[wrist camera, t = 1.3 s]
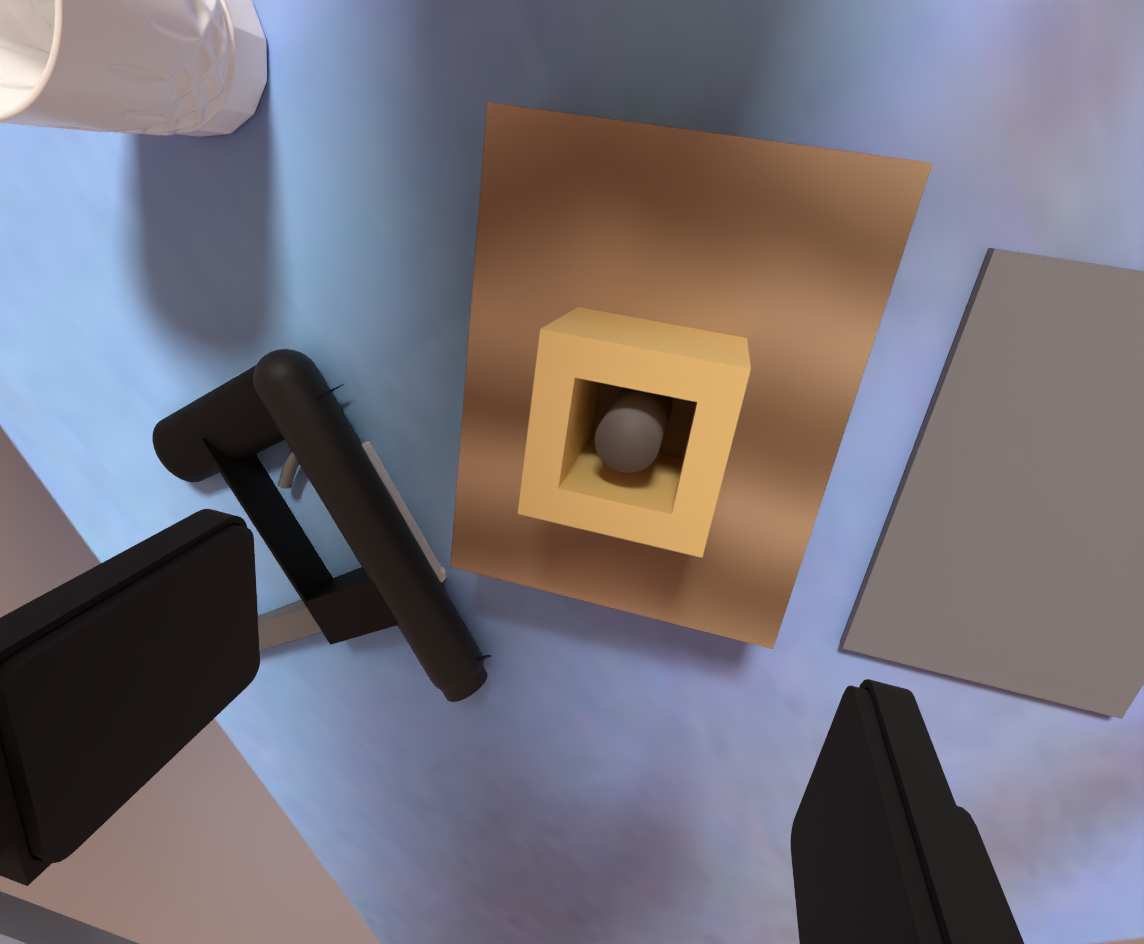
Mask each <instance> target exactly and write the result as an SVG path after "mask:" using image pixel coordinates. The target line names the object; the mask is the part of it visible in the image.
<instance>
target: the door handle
mask: <svg viewBox="0 0 1144 944" xmlns="http://www.w3.org/2000/svg"><path fill="white" fill-rule="evenodd" d="M343 385H344V384H343ZM341 386H342V385H341ZM339 387H340V386H339ZM339 387H336V388H334V389H332V390H330V389H329V388H328V386H327V384H326V383H325V381H324V379H323V377H322V376H321V374H320V372H319V370H318V369H317V367H316V365H315V364H314V363H313V361H312V360H311V359H310V358H308V357H307V356H306V355H304V354H302V353H300V352H298V351H294V350H289V349H281V350H276V351H273V352H270V353H268V354H267V355H265V356H264V357H263V358H262V359H261V360H260V361H259V362H258V364H257V365H256V366H254V367H252V368H251V369H249V370H247V371H245V372H244V373H242V374H240V375H239V376H237V377H235V378H233V379H232V380H230V381H228V382H226V383H225V384H223V385H221V386H220V387H218V388H216V389H214V390H213V391H211V392H209V393H207V394H206V395H204V396H202V397H201V398H199V399H197V400H195V401H194V402H192V403H190V404H188V405H187V406H185V407H183V408H182V409H180V410H178V411H176V412H175V413H173V414H171V415H169V416H168V417H166V418H164V419H163V420H161V421H159V422H158V423H157V425H156V426H155V428H154V431H153V445H154V449H155V452H156V454H157V456H158V458H159V460H160V461H161V463H162V464H163V465H164V466H165V467H166V469H167V470H169V471H170V472H171V473H172V474H173V475H175V476H176V477H178V478H180V479H182V480H185V481H189V482H199V481H202V480H204V479H206V478H208V477H210V476H212V475H214V474H216V473H218V472H220V473H221V474H222V476H223V478H224V479H225V481H226V482H227V484H228V485H229V487H230V488H231V490H232V492H233V493H234V495H235V496H236V498H237V499H238V501H239V502H240V504H241V506H242V507H243V509H244V510H245V512H246V513H247V515H248V517H249V518H250V520H251V521H252V523H253V524H254V526H255V527H256V529H257V531H258V532H259V534H260V535H261V537H262V538H263V540H264V541H265V543H266V545H267V546H268V548H269V549H270V551H271V552H272V554H273V555H274V557H275V559H276V560H277V562H278V563H279V565H280V566H281V568H282V570H283V571H284V573H285V574H286V576H287V577H288V579H289V580H290V582H291V584H292V585H293V587H294V588H295V590H296V591H297V593H298V594H299V596H300V598H301V599H302V600H300V601H297V602H294V603H292V604H289V605H286V606H284V607H281V608H278V609H275V610H273V611H270V612H267V613H265V614H262V615H259V616H258V632H259V651H261V650H265V649H268V648H271V647H274V646H278V645H281V644H284V643H287V642H291V641H294V640H297V639H300V638H304V637H307V636H310V635H313V634H317V633H320V632H323V634H324V635H325V637H326V638H327V640H328V642H329V643H330V645H331V644H334V643H338V642H341V641H344V640H348V639H351V638H355V637H358V636H361V635H365V634H368V633H372V632H375V631H378V630H382V629H385V628H389V627H392V626H395V625H398V627H399V628H400V630H401V632H402V633H403V635H404V637H405V638H406V640H407V642H408V643H409V645H410V647H411V648H412V650H413V652H414V653H415V655H416V656H417V658H418V660H419V661H420V663H421V665H422V666H423V668H424V670H425V671H426V673H427V675H428V676H429V678H430V680H431V681H432V683H433V684H434V685H435V686H436V687H437V688H438V689H440V690H442V692H443V694H444V695H445V697H446V699H447V700H448V701H450V702H456V701H460V700H462V699H465V698H467V697H469V696H470V695H472V694H473V693H475V692H476V691H477V690H478V689H479V688H480V687H481V686H482V685H483V684H484V683H485V681H486V679H487V672H486V670H485V669H484V667H483V658H484V659H486V658H487V657H489V658H490V657H491V655H486V656H482V655H481V652H480V650H479V648H478V646H477V645H476V643H475V641H474V639H473V638H472V636H471V634H470V633H469V631H468V629H467V627H466V626H465V624H464V622H463V620H462V619H461V617H460V615H459V613H458V612H457V610H456V608H455V606H454V605H453V603H452V601H451V600H450V598H449V596H448V594H447V593H446V591H445V589H444V587H443V586H442V584H441V583H442V582H443V581H444V580H445V579H446V577H447V576H446V570H445V568H444V567H442V566H441V565H440V564H439V562H438V560H437V558H436V557H435V555H434V553H433V551H432V550H431V548H430V546H429V544H428V543H427V541H426V539H425V537H424V536H423V534H422V532H421V530H420V529H419V527H418V525H417V523H416V522H415V520H414V518H413V516H412V515H411V513H410V511H409V509H408V508H407V506H406V504H405V502H404V501H403V499H402V497H401V495H400V494H399V492H398V490H397V488H396V487H395V485H394V483H393V481H392V480H391V478H390V476H389V475H388V473H387V471H386V469H385V468H384V466H383V464H382V462H381V461H380V459H379V457H378V455H377V454H376V452H375V450H374V448H373V447H372V445H371V443H370V441H369V440H368V441H366V442H364V443H360V442H359V440H358V438H357V436H356V435H355V433H354V431H353V429H352V428H351V426H350V424H349V422H348V421H347V419H346V417H345V416H344V414H343V412H342V410H341V409H340V407H339V405H338V403H337V402H336V400H335V398H334V396H333V395H332V393H331V392H332V391H334V390H335V389H337V388H339ZM283 440H286V442H287V444H288V445H289V447H290V449H291V450H292V452H291V454H290V455H289V456H288V458H287V460H286V462H285V464H284V466H283V469H282V471H281V475H280V478H279V483H278V485H279V486H280V487H282V488H290V487H292V483H293V479H294V475H295V472H296V470H297V467H298V465H299V463H300V465H301V467H302V468H303V470H304V472H305V473H306V475H307V477H308V478H309V480H310V482H311V483H312V485H313V487H314V488H315V490H316V492H317V493H318V495H319V496H320V498H321V500H322V501H323V503H324V505H325V506H326V508H327V510H328V511H329V513H330V515H331V516H332V518H333V520H334V521H335V523H336V525H337V526H338V528H339V529H340V531H341V533H342V534H343V536H344V538H345V539H346V541H347V543H348V544H349V546H350V548H351V549H352V551H353V553H354V554H355V556H356V558H357V559H358V561H359V562H360V564H361V566H362V567H361V568H359V569H356V570H353V571H351V572H348V573H346V574H343V575H340V576H338V577H335V578H332V576H331V575H330V573H329V572H328V570H327V568H326V567H325V565H324V564H323V562H322V560H321V559H320V557H319V556H318V554H317V552H316V551H315V549H314V548H313V546H312V544H311V543H310V541H309V539H308V538H307V536H306V535H305V533H304V531H303V530H302V528H301V527H300V525H299V523H298V522H297V520H296V519H295V517H294V515H293V514H292V512H291V511H290V509H289V507H288V506H287V504H286V502H285V501H284V499H283V498H282V496H281V494H280V493H279V491H278V490H277V488H276V486H275V485H274V483H273V482H272V480H271V478H270V477H269V475H268V474H267V472H266V470H265V469H264V467H263V466H262V464H261V462H260V461H259V459H258V457H257V456H256V453H258V452H260V451H262V450H264V449H266V448H268V447H270V446H272V445H275V444H277V443H279V442H281V441H283Z"/></svg>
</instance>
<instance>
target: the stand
mask: <svg viewBox="0 0 1144 944" xmlns="http://www.w3.org/2000/svg"><path fill="white" fill-rule="evenodd" d="M931 167H932V163H930V162H923V161H915V160H908V159H901V158H893V157H886V156H879V155H871V154H864V153H857V152H849V151H842V150H835V149H827V148H820V147H813V146H805V145H798V144H791V143H783V142H776V141H769V140H761V139H754V138H747V137H739V136H732V135H725V134H717V133H710V132H703V131H695V130H688V129H680V128H673V127H666V126H658V125H651V124H644V123H636V122H629V121H622V120H614V119H607V118H600V117H592V116H585V115H578V114H570V113H563V112H556V111H548V110H541V109H534V108H526V107H519V106H512V105H504V104H497V103H490V102H487V113H486V126H485V138H484V151H483V163H482V176H481V188H480V201H479V214H478V226H477V239H476V251H475V264H474V276H473V289H472V301H471V314H470V327H469V339H468V352H467V364H466V377H465V389H464V402H463V414H462V427H461V439H460V452H459V465H458V477H457V490H456V502H455V515H454V527H453V540H452V552H451V565H450V567H454V568H458V569H462V570H465V571H469V572H473V573H477V574H481V575H485V576H489V577H493V578H497V579H501V580H505V581H509V582H512V583H516V584H520V585H524V586H528V587H532V588H536V589H540V590H544V591H548V592H552V593H556V594H559V595H563V596H567V597H571V598H575V599H579V600H583V601H587V602H591V603H595V604H599V605H602V606H606V607H610V608H614V609H618V610H622V611H626V612H630V613H634V614H638V615H642V616H646V617H649V618H653V619H657V620H661V621H665V622H669V623H673V624H677V625H681V626H685V627H689V628H693V629H696V630H700V631H704V632H708V633H712V634H716V635H720V636H724V637H728V638H732V639H736V640H739V641H743V642H747V643H751V644H755V645H759V646H763V647H767V648H771V649H773V647H774V644H775V641H776V638H777V635H778V632H779V629H780V626H781V623H782V620H783V617H784V614H785V611H786V608H787V605H788V602H789V599H790V596H791V593H792V590H793V587H794V583H795V580H796V577H797V574H798V571H799V568H800V565H801V562H802V559H803V556H804V553H805V550H806V547H807V544H808V541H809V538H810V535H811V532H812V529H813V526H814V523H815V520H816V517H817V513H818V510H819V507H820V504H821V501H822V498H823V495H824V492H825V489H826V486H827V483H828V480H829V477H830V474H831V471H832V468H833V465H834V462H835V459H836V456H837V453H838V450H839V447H840V443H841V440H842V437H843V434H844V431H845V428H846V425H847V422H848V419H849V416H850V413H851V410H852V407H853V404H854V401H855V398H856V395H857V392H858V389H859V386H860V383H861V380H862V377H863V373H864V370H865V367H866V364H867V361H868V358H869V355H870V352H871V349H872V346H873V343H874V340H875V337H876V334H877V331H878V328H879V325H880V322H881V319H882V316H883V313H884V310H885V307H886V303H887V300H888V297H889V294H890V291H891V288H892V285H893V282H894V279H895V276H896V273H897V270H898V267H899V264H900V261H901V258H902V255H903V252H904V249H905V246H906V243H907V240H908V237H909V233H910V230H911V227H912V224H913V221H914V218H915V215H916V212H917V209H918V206H919V203H920V200H921V197H922V194H923V191H924V188H925V185H926V182H927V179H928V176H929V173H930V170H931ZM577 307H580V308H586V309H591V310H597V311H602V312H607V313H613V314H618V315H624V316H629V317H635V318H640V319H646V320H651V321H656V322H662V323H667V324H673V325H678V326H684V327H689V328H695V329H700V330H705V331H711V332H716V333H722V334H727V335H733V336H738V337H744V338H747V342H748V350H749V358H750V366H751V371H750V375H749V378H748V382H747V386H746V390H745V394H744V398H743V402H742V406H741V410H740V413H739V417H738V421H737V425H736V429H735V433H734V437H733V441H732V445H731V448H730V452H729V456H728V460H727V464H726V468H725V472H724V476H723V479H722V483H721V487H720V491H719V495H718V499H717V503H716V507H715V511H714V514H713V518H712V522H711V526H710V530H709V534H708V538H707V542H706V546H705V549H704V553H703V557H702V558H701V557H697V556H693V555H689V554H685V553H680V552H676V551H672V550H668V549H664V548H659V547H655V546H651V545H647V544H643V543H638V542H634V541H630V540H626V539H622V538H617V537H613V536H609V535H605V534H601V533H596V532H592V531H588V530H584V529H579V528H575V527H571V526H567V525H563V524H558V523H554V522H550V521H546V520H542V519H537V518H533V517H529V516H525V515H521V514H518V507H519V498H520V490H521V482H522V474H523V466H524V458H525V450H526V441H527V433H528V425H529V417H530V409H531V401H532V393H533V385H534V376H535V368H536V360H537V352H538V344H539V336H540V329H541V328H543V327H545V326H546V325H548V324H550V323H551V322H553V321H555V320H557V319H558V318H560V317H562V316H563V315H565V314H567V313H569V312H570V311H572V310H574V309H576V308H577ZM695 405H696V402H694V401H689V400H684V399H679V398H674V397H669V396H664V395H659V394H654V393H649V392H644V391H640V390H635V389H630V388H625V387H620V386H615V385H610V384H605V383H600V382H599V388H598V394H597V400H596V406H595V412H594V418H593V424H592V430H591V436H590V439H592V440H595V448H596V451H597V453H598V455H599V457H600V458H601V460H602V461H603V462H604V463H605V464H606V465H607V466H609V467H610V468H612V469H614V470H616V471H619V472H624V473H634V472H638V471H641V470H643V469H645V468H647V467H648V466H649V465H650V464H652V462H653V461H654V460H655V458H656V457H657V454H662V455H666V456H671V457H676V458H680V459H683V457H684V453H685V449H686V444H687V440H688V435H689V431H690V427H691V422H692V418H693V414H694V409H695Z"/></svg>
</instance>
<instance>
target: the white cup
mask: <svg viewBox="0 0 1144 944" xmlns="http://www.w3.org/2000/svg"><path fill="white" fill-rule="evenodd" d="M266 82H267V43H266V38H265V35H264V32H263V29H262V27H261V24H260V21H259V18H258V16H257V13H256V10H255V7H254V4H253V2H252V0H0V123H2V124H14V125H26V126H38V127H49V128H60V129H72V130H83V131H94V132H116V133H132V134H148V135H173V134H179V135H188V136H199V137H203V136H213V135H223V134H231V133H232V132H233V131H235V130H236V129H237V128H238V127H239V126H241V125H242V124H243V123H244V122H245V121H247V120H248V119H249V118H250V117H251V116H253V115H254V113H255V111H256V108H257V106H258V103H259V101H260V98H261V95H262V93H263V90H264V88H265V85H266Z"/></svg>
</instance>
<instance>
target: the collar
mask: <svg viewBox="0 0 1144 944" xmlns="http://www.w3.org/2000/svg"><path fill="white" fill-rule="evenodd" d="M750 371H751V366H750V358H749V350H748V342H747V338H744V337H738V336H733V335H727V334H722V333H716V332H711V331H705V330H700V329H695V328H689V327H684V326H678V325H673V324H667V323H662V322H656V321H651V320H646V319H640V318H635V317H629V316H624V315H618V314H613V313H607V312H602V311H597V310H591V309H586V308H580V307H577V308H576V309H574V310H572V311H570V312H569V313H567V314H565V315H563V316H562V317H560V318H558V319H557V320H555V321H553V322H551V323H550V324H548V325H546V326H545V327H543V328H541V329H540V336H539V344H538V352H537V360H536V368H535V376H534V385H533V393H532V401H531V409H530V417H529V425H528V433H527V441H526V450H525V458H524V466H523V474H522V482H521V490H520V498H519V507H518V514H521V515H525V516H529V517H533V518H537V519H542V520H546V521H550V522H554V523H558V524H563V525H567V526H571V527H575V528H579V529H584V530H588V531H592V532H596V533H601V534H605V535H609V536H613V537H617V538H622V539H626V540H630V541H634V542H638V543H643V544H647V545H651V546H655V547H659V548H664V549H668V550H672V551H676V552H680V553H685V554H689V555H693V556H697V557H701V558H702V557H703V553H704V549H705V546H706V542H707V538H708V534H709V530H710V526H711V522H712V518H713V514H714V511H715V507H716V503H717V499H718V495H719V491H720V487H721V483H722V479H723V476H724V472H725V468H726V464H727V460H728V456H729V452H730V448H731V445H732V441H733V437H734V433H735V429H736V425H737V421H738V417H739V413H740V410H741V406H742V402H743V398H744V394H745V390H746V386H747V382H748V378H749V375H750ZM599 382H600V383H605V384H610V385H615V386H620V387H625V388H630V389H635V390H640V391H644V392H649V393H654V394H659V395H664V396H669V397H674V398H679V399H684V400H689V401H694V402H696V405H695V409H694V414H693V418H692V422H691V427H690V431H689V435H688V440H687V444H686V449H685V453H684V457H683V459H680V458H676V457H671V456H666V455H662V454H657V457H656V458H655V460H654V461H653V462H652V464H650V465H649V466H648V467H647V468H645V469H643V470H641V471H638V472H634V473H624V472H619V471H616V470H614V469H612V468H610V467H609V466H607V465H606V464H605V463H604V462H603V461H602V460H601V458H600V457H599V455H598V453H597V451H596V448H595V440H592V439H590V436H591V430H592V424H593V418H594V412H595V406H596V400H597V394H598V388H599Z"/></svg>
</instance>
